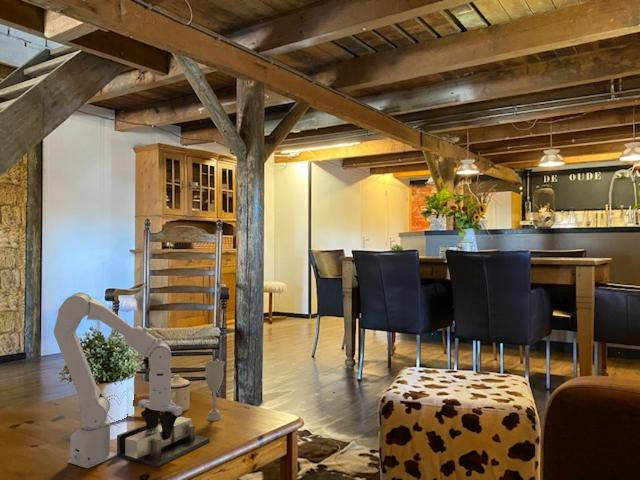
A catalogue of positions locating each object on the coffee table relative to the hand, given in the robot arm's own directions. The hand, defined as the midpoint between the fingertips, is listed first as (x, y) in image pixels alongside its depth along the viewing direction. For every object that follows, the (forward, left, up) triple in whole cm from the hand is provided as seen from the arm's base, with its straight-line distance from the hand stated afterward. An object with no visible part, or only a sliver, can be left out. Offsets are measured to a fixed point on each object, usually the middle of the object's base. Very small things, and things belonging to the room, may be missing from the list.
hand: (159, 437), depth 145 cm
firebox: (+2, 0, -4) cm, 5 cm away
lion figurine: (+19, +30, -4) cm, 36 cm away
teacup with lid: (+29, +23, -4) cm, 37 cm away
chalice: (+29, +6, -4) cm, 30 cm away
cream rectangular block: (0, 0, -2) cm, 2 cm away
